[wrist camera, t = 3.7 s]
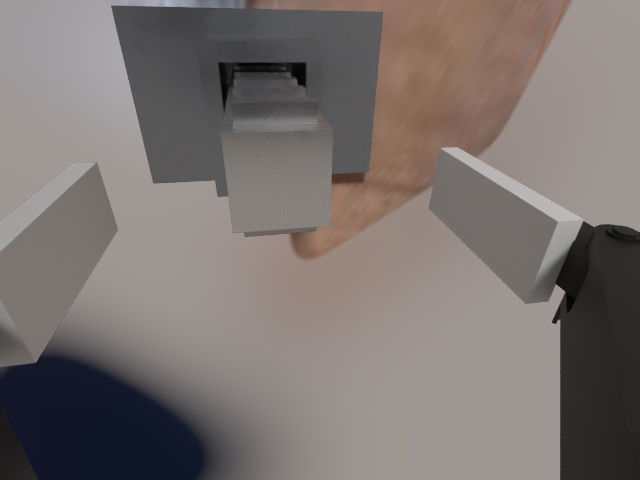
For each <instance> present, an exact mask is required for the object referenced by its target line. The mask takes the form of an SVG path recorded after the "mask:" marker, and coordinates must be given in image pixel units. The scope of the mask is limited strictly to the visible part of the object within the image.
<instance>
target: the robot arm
mask: <svg viewBox="0 0 640 480" xmlns="http://www.w3.org/2000/svg"><path fill="white" fill-rule="evenodd" d="M429 209H430V210H431V211H432V212H433V213H434V214H435V215H436V216H437V217H438V218H439V219H440V220H441V221H442V222H443V223H444V224H445V225H446V226H447V227H448V228H449V229H450V230H452V232H454V234H455V235H456V236H458V238H459V239H461V240H462V241H463V242H464V243H465V244H466V245H467V246H468V247H469V248H470V249H471V250H472V251H473V252H474V253H475V254H476V255H477V256H478V257H479V258H480V259H481V260H482V261H483V262H484V263H485V264H486V265H487V266H488V267H489V268H490V269H491V270H492V271H493V272H494V273H495V274H496V275H497V276H498V277H499V278H500V279H501V280H502V281H503V282H504V283H505V284H506V285H507V286H508V287H509V288H510V289H511V290H512V291H513V292H514V293H515V294H516V295H517V296H518V297H519V298H520V299H521V300H522V301H524V303H525V304H529V303H537V302H546V301H549V298H550V296H551V294H552V292H553V290H554V287H555V285H556V284H557V285H558V286H559V287H560V288H562V289H563V290H564V291H565V294H564V296H563V299H562V301H561V303H560V305H559V308H558V310H557V312H556V314H555V317H554V318H553V321H552V323H554V324H556V323H557V321H558V320H560V324H561V328H560V329H561V330H560V341H561V342H560V352H561V353H560V366H561V367H560V369H561V370H560V375H561V376H560V382H561V383H560V384H561V385H560V386H561V387H560V480H640V232H638V231H636V230H634V229H632V228H629V227H625V226H617V225H610V224H607V225H599V226H596V227H593V226H591V225H589V224H588V223H586V222H584V221H583V219H582V218H580V217H578V216H576V215H575V214H573V213H571V212H570V211H568V210H566V209H564V208H563V207H561V206H559V205H557V204H556V203H554V202H552V201H550V200H548V199H547V198H545V197H543V196H541V195H540V194H538V193H536V192H534V191H533V190H531V189H529V188H527V187H526V186H524V185H522V184H520V183H519V182H517V181H515V180H513V179H512V178H510V177H508V176H506V175H505V174H503V173H501V172H499V171H498V170H496V169H494V168H492V167H490V166H489V165H487V164H485V163H484V162H482V161H480V160H478V159H477V158H475V157H473V156H471V155H470V154H468V153H466V152H464V151H463V150H461V149H459V148H457V147H454V148H440V151H439V157H438V162H437V168H436V173H435V178H434V184H433V189H432V195H431V200H430V206H429ZM117 230H118V229H117V225H116V222H115V219H114V216H113V212H112V209H111V206H110V203H109V200H108V197H107V193H106V190H105V187H104V184H103V180H102V177H101V174H100V170H99V167H98V164H97V162H87V163H73V164H71V165H70V166H69V167H68V168H67V169H65V170H64V171H63V172H62V173H61V174H59V175H58V176H57V177H55V178H54V179H53V180H52V181H50V182H49V183H48V184H47V185H45V186H44V187H43V188H42V189H41V190H39V191H38V192H37V193H35V194H34V195H33V196H32V197H30V198H29V199H28V200H27V201H25V202H24V203H23V204H22V205H20V206H19V207H18V208H17V209H16V210H14V211H13V212H12V213H11V214H9V215H8V216H7V217H6V218H4V219H3V220H2V221H1V222H0V367H4V366H13V365H21V364H29V363H36V361H37V360H38V358H39V356H40V355H41V353H42V352H43V350H44V348H45V347H46V345H47V344H48V342H49V340H50V339H51V337H52V336H53V334H54V332H55V331H56V329H57V328H58V326H59V324H60V323H61V321H62V319H63V318H64V316H65V315H66V313H67V311H68V309H69V308H70V306H71V305H72V303H73V302H74V300H75V298H76V297H77V295H78V294H79V292H80V290H81V289H82V287H83V285H84V284H85V282H86V281H87V279H88V277H89V276H90V274H91V273H92V271H93V269H94V268H95V266H96V264H97V263H98V261H99V259H100V258H101V256H102V255H103V253H104V251H105V250H106V248H107V247H108V245H109V243H110V242H111V240H112V239H113V237H114V235H115V234H116V232H117ZM0 480H37V477H36V475H35V473H34V471H33V469H32V467H31V466H30V464H29V461H28V459H27V458H26V456H25V454H24V452H23V449H22V448H21V445H20V444H19V442H18V440H17V438H16V436H15V434H14V432H13V430H12V428H11V426H10V424H9V422H8V420H7V418H6V416H5V414H4V412H3V410H2V408H1V406H0Z"/></svg>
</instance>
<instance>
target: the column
mask: <svg viewBox="0 0 640 480" xmlns="http://www.w3.org/2000/svg"><path fill="white" fill-rule="evenodd" d="M235 68H236V70H235V74H231V80H230V85H229V90H228V96H227V101H226V107H225V112H224V117H223V123H222V128H221V141H222V149H223V157H224V165H225V173H226V181H227V189H228V196H229V204H230V212H231V220H232V228H233V233H241V232H244V234H245V237H248V236H262V235H274V234H287V233H300V232H313V231H316V227H320V226H330V209H331V180H332V152H333V129H332V128H331V126H330V125H329V124H328V123H327V122H326V120H325V119H324V118H323V117H322V116H321V114H320V113H319V112H318V101H317V100H316V99H315V98H314V97H306V88H305V87H304V86H303V85H297V79H296V78H295V77H291V72H290V71H289V70H285V66H284V65H236V66H235Z"/></svg>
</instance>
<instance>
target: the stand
mask: <svg viewBox="0 0 640 480" xmlns="http://www.w3.org/2000/svg"><path fill="white" fill-rule="evenodd" d="M111 7H112V11H113V15H114V20H115V24H116V28H117V33H118V37H119V41H120V45H121V49H122V54H123V57H124V62H125V66H126V70H127V74H128V79H129V82H130V87H131V91H132V95H133V100H134V104H135V108H136V112H137V116H138V121H139V125H140V129H141V133H142V137H143V141H144V146H145V150H146V154H147V158H148V163H149V166H150V171H151V175H152V179H153V183H169V182H170V183H172V182H190V181H210V180H215V181H216V188H217V195H218V197H223V196H228V189H227V181H226V173H225V165H224V157H223V149H222V141H221V128H222V123H223V117H224V112H225V107H226V101H227V96H228V90H229V85H230V80H231V74H235V70H236V68H235V66H236V65H284V66H285V70H289V71H290V72H291V77H295V78H296V79H297V85H303V86H304V87H305V88H306V97H314V98H315V99H316V100H317V101H318V112H319V113H320V114H321V116H322V117H323V118H324V119H325V120H326V122H327V123H328V124H329V125H330V126H331V128H332V129H333V152H332V174H345V173H364V172H369V161H370V150H371V139H372V128H373V117H374V106H375V95H376V84H377V73H378V62H379V51H380V40H381V29H382V18H383V12H354V11H313V10H271V9H229V8H187V7H146V6H111Z"/></svg>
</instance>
